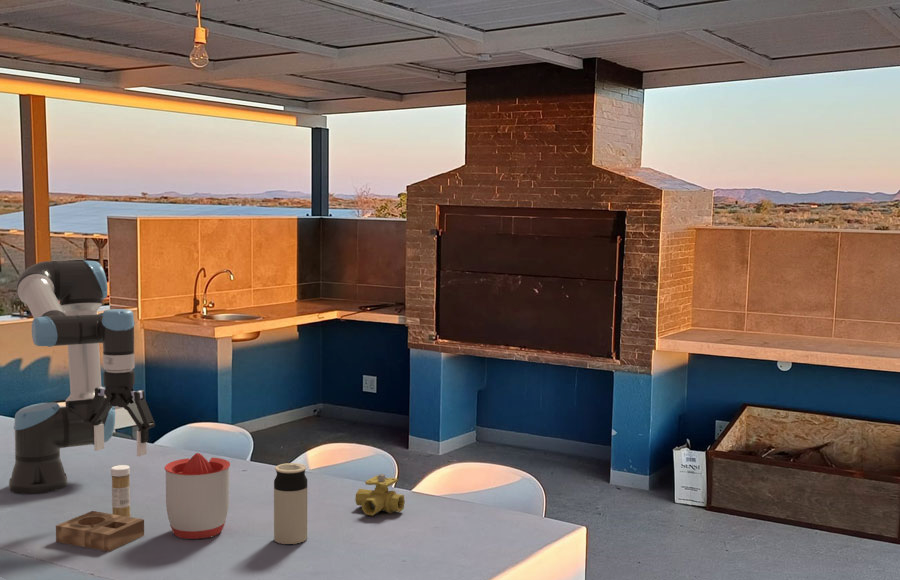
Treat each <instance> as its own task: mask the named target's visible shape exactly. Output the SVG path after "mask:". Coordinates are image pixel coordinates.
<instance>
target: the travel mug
mask: <svg viewBox="0 0 900 580" xmlns="http://www.w3.org/2000/svg"><path fill="white" fill-rule="evenodd" d="M274 470H275V472H276V476H275V478H274V480H273V540H274V542H275V543H278V544H280V543H281V545H285V544H293V545H298V544H297V543H299V544H301V542H302V543H304V542H305V541H306V540H308V478H307V476H306V470H307V465H305V464H302V463H300V462H299V463H297V462H296V463H295V462H289V463H287V462H286V463H281V464H278V465H277V466H275V467H274Z"/></svg>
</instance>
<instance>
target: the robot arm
mask: <svg viewBox="0 0 900 580" xmlns="http://www.w3.org/2000/svg"><path fill="white" fill-rule="evenodd" d="M15 286H16V287H15V288H16V293H17V296H18V298H19V300H20V301H21V302H22V303H23V304H24V305H27V307H28V310H29V311H30V313H31V315H32V318H33V319H32V322H31V338H32V342H33V344H34V345H35V346H37V347H49V348H51V347H60V346H67V353H68V354H67V355H68V357H67V358H68V372H69V374H68V375H69V390H70V391H69V392H70V394H69V396H68V397H67V398H66V399H65V406H62V407H60V405H59V403H58V402H52V401H50V402H40V403H35V404H31V405H28V406H24V407H22V408H20V409H18V411H16V413H15V415H14V424H13V425H14V426H13V430H14V453H15V455H14V456H15V460H14V465H13V469H12V472H11V477H10V479H9V480H8V489H9V491H10V493H11V492H12V493H15V494H22V495H32V494H33V495H37V494H45V493H49V492H50V493H51V492H55V491H57V490H60V489H63V488H65V487H66V486H68V476H67V473H65V468H64V465H63V463H62V460H61V451H60V450H61V449H63V448H72V447H81V446H91V445H93V446H94V449H93V450H94V451H96V452H97V451H101V450H104V449H105V443H107V442H109V441H110V439H111V438H112V436H113V435H114V430H115V425H116V410H115V407H118V408H123V409H124V410H126V411H127V412H128V414H129V416H130V417H131V419H132V420H133V422H134V423H135V425H136V427H137V428H138V430H136V457H142V456H145V455H147V454H148V453H147V450H148V449H147V443H148V442H149V430H150V429H152V428H154V427H156V423H155V420H154V418H153V415H152V413H151V410H150V408H149V406H148V402H147V401H146V395H145V390H144V389H141V390H135V389H134V385H135V382H136V381H135V380H136V377H135V375H136V373H135V372H136V371H134V369H135V368H136V367H135V366H136V365H135V364H136V363H135V324H136V323H135V320H134V312H133V311H132V310H131V309H127V308H111V309H105V310H104V311H103V312H100V313H98V310H99V309H100V308H101V307H102V305H103V302H102V301H103V300H105V299H106V298H107V297H108V281H107V277H106V273H105V269H104V268H103V266H102V265H101V263H100V262H98V261H95V260H84V259H83V260H57V261H56V260H54V261H53V260H48V261H47V260H46V261H40V262H37V263H34V264H32V265H30V266H28V267H27V268H26V269H25V270H24V271H22V272H21V274H20V275H19V277H18V279H17V281H16V285H15ZM100 344H102V358H103V359H102V361H103V363H102V365H103V366H102V367H103V369H104V370H105V371H104V372H103V373H102V374H103V378H102V374H101V356H100ZM102 379H103V381H102ZM102 382H103V386H102Z"/></svg>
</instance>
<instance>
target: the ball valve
mask: <svg viewBox="0 0 900 580" xmlns="http://www.w3.org/2000/svg"><path fill="white" fill-rule="evenodd" d="M398 481H399V479H398V478H396V477H386V474H384V473H379V474H378V475H376V476H374V477H371V478H369V479H367V480H366V481H365V485H368V486H375V487H374V489H373V490H372V489H366V488H365V489H364V488H359V489H357V492H356V494H355V499H354V500H355V504H356V505H357V506H361V510H362V511H363V512H364V514H365V515H366V516H374V515H376V514H378V513H379V512H386V513H388V514H392V513H394V512H397V513H401V512H402V511H403V510H404V506H405V502H406V501H405V495H404V494H399V493H397V492H396V491H395V490H389V487H390V486H392V485H394V484H396V483H397V482H398Z"/></svg>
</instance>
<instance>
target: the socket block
mask: <svg viewBox="0 0 900 580" xmlns="http://www.w3.org/2000/svg"><path fill="white" fill-rule="evenodd" d="M144 536H145V519H144V518H138V517H131V516H130V517H126V516H120V515H114V514H113V513H109V512H108V513H107V512H101V511H95V510H91V511H88V512H86V513H83V514H81V515H78V516H75V517H74V518H71V519H69V520H66V521H63V522H61V523H58V524H57V525H55V542H56V543H61V544H66V545H71V546H77V547H81V546H82V547H81V548H87V549H94V550H97V549H98V550H99V551H103V552H108V551H109V553H110V552H112V551H114V550H116V549H118V548H121V547H122V546H125V545H127V544H129V543H131V542H133V541H135V540H137V539H139V538H140V539H141V538H142V537H144Z"/></svg>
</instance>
